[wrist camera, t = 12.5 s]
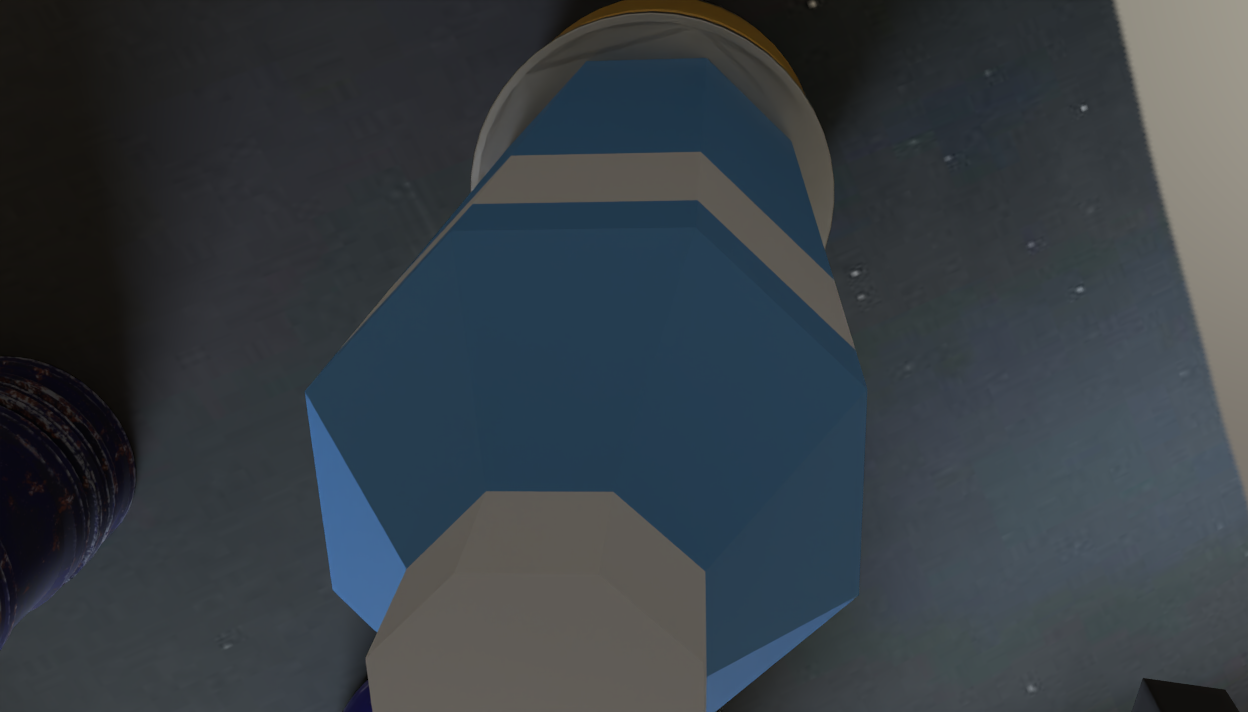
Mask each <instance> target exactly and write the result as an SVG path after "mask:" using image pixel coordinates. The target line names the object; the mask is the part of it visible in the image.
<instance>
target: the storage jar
mask: <svg viewBox="0 0 1248 712" xmlns="http://www.w3.org/2000/svg"><path fill="white" fill-rule="evenodd" d="M135 485H136V468H135V462H134V457H133V452H132V449H131V446H130V443H129V440H128V437H127V435H126V433H125V432H124V430H123V428H122V426H121V424H120V422H119V421H118V419H117V418H116V416H115V415H114V414H113V412H112V411H111V409H110V408H109V407H108V406H107V405H106V404H105V403H104V401H103V400H102V399H101V398H100V397H99V396H98V395H97V394H96V393H95V392H93V391H92V390H91V389H90V388H89V387H87V386H86V385H85V384H84V383H83V382H81V381H79V380H78V379H76V378H75V377H73V376H71V375H70V374H68V373H67V372H65V371H62V370H60V369H58V368H56V367H54V366H51V365H49V364H46V363H43V362H39V361H36V360H33V359H27V358H21V357H7V356H0V650H1V649H2V647H3V645H4V644H5V642H6V640H7V639H8V637H9V635H10V632H11V630H12V629H13V628H14V627H15V626H16V625H17V623H18V622H19V621H20V620H21V619H22V618H23V617H24V616H25V615H26V614H27V613H28V612H29V611H31V610H33V609H35V608H37V607H39V606H40V605H41V604H43V603H44V602H45V601H47V600H48V599H50V598H51V597H52V595H53V594H54V593H55V592H56V591H57V590H58V589H59V588H60V587H61V586H63V585H64V584H65V583H67V582H68V581H69V580H71V579H72V578H73V577H74V576H75V575H76V574H77V573H78V572H79V571H80V570H81V569H82V568H83V567H84V566H85V564H86V563H87V562H88V561H89V560H90V559H91V558H92V557H93V556H94V555H95V553H96V551H97V550H98V548H99V547H100V545H101V544H102V543H103V541H104V540H106V539H107V538H108V537H109V535H110V534H111V533H112V532H113V531H114V530H115V529H116V528H117V527H118V526H119V525H120V524H121V522H122V521H123V519H124V517H125V516H126V514H127V513H128V511H129V508H130V505H131V503H132V500H133V497H134V491H135Z"/></svg>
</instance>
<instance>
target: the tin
mask: <svg viewBox="0 0 1248 712" xmlns="http://www.w3.org/2000/svg"><path fill="white" fill-rule="evenodd" d="M684 58H707V59H708V60H709V61H710V62H711V63H712V64H713V65H715V66H716V67H717V68H718V69H719V70H720V71H721V72H722V73H723V74H724V75H725V76H726V77H727V78H728V79H729V80H730V81H731V82H732V83H733V84H734V85H735V86H736V87H737V88H738V89H739V90H740V91H741V92H742V93H743V94H744V95H745V96H746V97H747V98H748V99H749V100H750V101H751V102H752V103H753V104H754V105H755V106H756V107H757V108H758V109H759V110H760V111H761V112H762V113H763V114H764V115H765V116H766V117H767V118H768V119H769V120H770V121H771V122H772V123H773V124H774V125H775V126H776V127H777V128H779V129H780V130H781V131H782V132H783V133H784V134H785V135H786V136H787V137H788V138H789V139H790V140H791V141H792V144H793V148H794V151H795V154H796V157H797V161H798V164H799V167H800V171H801V174H802V177H803V180H804V184H805V187H806V190H807V193H808V197H809V200H810V203H811V206H812V210H813V213H814V216H815V220H816V223H817V226H818V229H819V233H820V236H821V239H822V242H823V246H824V249H825V248H826V244H827V240H828V237H829V233H830V229H831V224H832V216H833V208H834V176H833V169H832V162H831V156H830V152H829V149H828V145H827V142H826V138H825V135H824V132H823V130H822V127H821V125H820V123H819V120H818V118H817V116H816V114H815V111H814V109H813V107H812V106H811V104H810V102H809V101H808V99H807V97H806V95H805V93H804V91H803V89H802V86H801V84H800V82H799V80H798V78H797V76H796V75H795V73H794V71H793V70H792V68H791V66H790V65H789V63H788V61H787V60H786V59H785V58H784V56H783V55H782V54H781V53H780V52H779V50H778V49H777V48H776V47H775V45H774V44H773V43H772V42H771V41H769V40H768V39H767V38H766V37H765V36H764V35H763V34H762V33H761V32H760V31H759V30H758V29H756V28H755V27H754V26H753V25H751V24H750V23H748V22H747V21H746V20H744V19H743V18H741V17H740V16H738V15H736V14H734V13H732V12H730V11H729V10H727V9H725V8H723V7H721V6H718V5H715V4H712V3H709V2H707V1H704V0H623V1H620V2H617V3H614V4H611V5H609V6H606V7H603V8H600V9H598V10H596V11H594V12H592V13H590V14H588V15H587V16H585V17H583V18H581V19H580V20H578V21H577V22H575V23H574V24H572V25H571V26H570V27H568V28H567V29H565V30H564V31H563V32H562V33H561V34H559V35H558V36H557V37H556V38H555V39H554V40H552V41H551V42H550V43H548V44H547V45H546V46H544V47H543V48H541V49H540V50H539V51H537V52H536V53H535V54H534V55H533V56H532V57H531V58H530V59H528V60H527V61H526V62H525V63H524V64H523V65H522V66H521V67H520V68H519V69H518V70H517V71H516V72H515V74H514V75H513V76H512V77H511V78H510V80H509V81H508V82H507V83H506V85H505V86H504V87H503V88H502V90H501V92H500V93H499V95H498V96H497V98H496V100H495V101H494V103H493V105H492V106H491V108H490V110H489V112H488V114H487V117H486V119H485V121H484V124H483V126H482V128H481V131H480V134H479V138H478V141H477V145H476V148H475V152H474V157H473V164H472V171H471V192H472V191H473V189H474V188H475V187H476V186H477V185H478V183H479V182H480V181H481V180H482V179H483V177H484V176H485V175H486V174H487V173H488V171H489V170H490V169H491V168H492V167H493V165H494V164H495V163H496V162H497V161H498V159H499V158H500V157H501V156H502V155H503V153H504V152H505V151H506V150H507V149H508V147H509V146H510V145H511V144H512V143H513V142H514V141H515V140H516V139H517V137H518V136H519V135H520V134H521V133H522V132H523V131H524V130H525V129H526V128H527V126H528V125H529V124H530V123H531V122H532V121H533V120H534V119H535V118H536V116H537V115H538V114H539V113H540V112H541V111H542V110H543V109H544V108H545V107H546V105H547V104H548V103H549V102H550V101H551V100H552V99H553V98H554V97H555V95H556V94H557V93H558V92H559V91H560V90H561V89H562V88H563V87H564V86H565V84H566V83H567V82H568V81H569V80H570V79H571V78H572V77H573V76H574V74H575V73H576V72H577V71H578V70H579V69H580V68H581V67H582V66H583V65H584V63H585V62H586V61H608V60H646V59H684Z"/></svg>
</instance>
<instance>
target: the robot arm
mask: <svg viewBox="0 0 1248 712" xmlns="http://www.w3.org/2000/svg"><path fill="white" fill-rule="evenodd" d="M1132 712H1239V711H1238V709H1237V708H1236V706H1235V704H1234V703H1233V701H1232V700H1231V698H1230V696H1229V695H1228V693H1227V692H1226V690H1223V689H1216V688H1209V687H1202V686H1195V685H1188V684H1181V683H1174V682H1167V681H1160V680H1153V679H1146V678H1143V679H1142V682H1141V685H1140V688H1139V691H1138V694H1137V697H1136V700H1135V703H1134V706H1133V709H1132Z"/></svg>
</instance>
